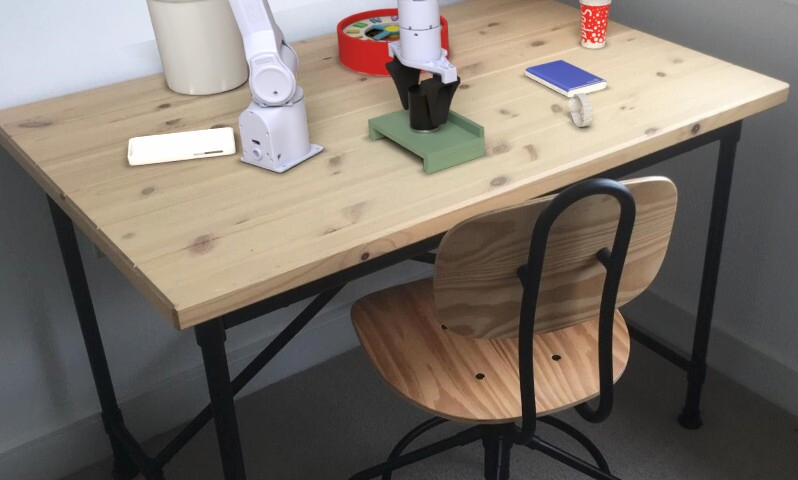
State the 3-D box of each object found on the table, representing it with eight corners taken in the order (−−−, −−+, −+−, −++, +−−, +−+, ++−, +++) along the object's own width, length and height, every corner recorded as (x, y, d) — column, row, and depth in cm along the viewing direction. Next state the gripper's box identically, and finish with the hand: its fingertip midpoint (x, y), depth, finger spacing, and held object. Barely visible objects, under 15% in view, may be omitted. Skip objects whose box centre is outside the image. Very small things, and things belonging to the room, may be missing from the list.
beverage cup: (572, 41, 184) (575, -35, 176) (602, 37, 185) (606, -37, 178) (583, 51, 179) (587, -26, 171) (614, 48, 181) (618, -29, 173)
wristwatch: (582, 118, 153) (583, 88, 150) (595, 130, 149) (597, 99, 146) (565, 120, 152) (566, 90, 149) (578, 132, 148) (579, 102, 145)
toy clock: (468, 17, 177) (409, 49, 162) (469, 48, 180) (411, 83, 166) (378, 2, 185) (313, 32, 170) (380, 32, 188) (317, 64, 173)
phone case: (233, 134, 148) (131, 146, 144) (232, 126, 147) (129, 137, 143) (236, 154, 142) (129, 166, 138) (234, 145, 141) (127, 158, 138)
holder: (428, 136, 140) (426, 97, 136) (403, 129, 142) (400, 91, 138) (446, 125, 143) (445, 87, 140) (421, 119, 145) (419, 81, 142)
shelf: (428, 174, 136) (427, 145, 134) (369, 137, 147) (366, 110, 144) (484, 155, 142) (484, 127, 139) (423, 121, 152) (422, 94, 149)
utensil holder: (199, 104, 158) (178, -4, 148) (144, 84, 165) (121, -20, 155) (269, 78, 168) (253, -25, 158) (214, 60, 175) (196, -39, 165)
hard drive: (606, 79, 163) (562, 58, 171) (568, 89, 159) (525, 67, 167) (606, 88, 164) (562, 67, 172) (568, 98, 160) (525, 76, 168)
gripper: (473, 31, 131) (476, 124, 139) (414, 6, 141) (419, 95, 148) (430, 42, 128) (435, 137, 135) (373, 15, 137) (380, 106, 145)
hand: (424, 115), depth 141 cm, fingers open, 7 cm apart
